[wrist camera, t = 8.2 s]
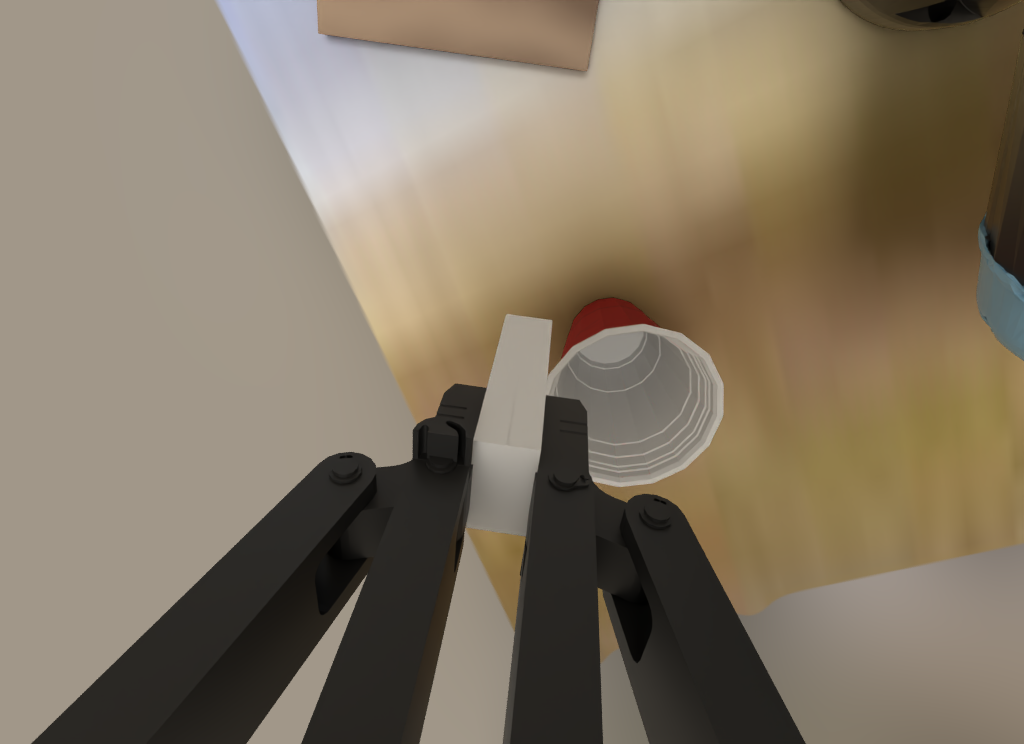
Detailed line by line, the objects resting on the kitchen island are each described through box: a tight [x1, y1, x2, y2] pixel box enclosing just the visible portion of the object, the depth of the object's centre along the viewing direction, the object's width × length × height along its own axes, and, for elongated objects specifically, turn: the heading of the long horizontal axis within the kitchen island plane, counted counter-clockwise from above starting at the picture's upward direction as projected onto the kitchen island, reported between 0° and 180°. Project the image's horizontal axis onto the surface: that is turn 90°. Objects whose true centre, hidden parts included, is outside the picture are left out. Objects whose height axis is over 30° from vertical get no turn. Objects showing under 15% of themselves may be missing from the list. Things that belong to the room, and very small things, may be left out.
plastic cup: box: [546, 298, 724, 487], centre depth 37 cm, size 11×11×12 cm
